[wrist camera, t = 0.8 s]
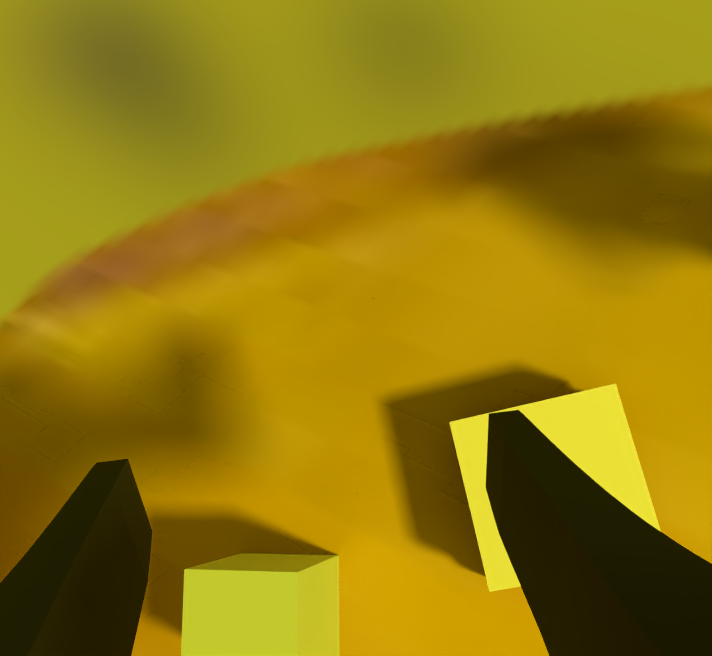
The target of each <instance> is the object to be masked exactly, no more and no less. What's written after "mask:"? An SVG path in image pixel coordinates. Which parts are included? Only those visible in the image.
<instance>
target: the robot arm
mask: <svg viewBox="0 0 712 656" xmlns="http://www.w3.org/2000/svg"><path fill="white" fill-rule="evenodd" d="M486 491H487V494H488V498H489V501H490V505H491V509H492V512H493V516H494V519H495V522H496V526H497V529H498V532H499V535H500V537H501V540H502V542H503V545H504V547H505V550H506V552H507V554H508V557H509V559H510V561H511V564H512V566H513V569H514V571H515V573H516V576H517V578H518V580H519V583H520V585H521V587H522V590H523V592H524V594H525V597H526V599H527V601H528V604H529V606H530V609H531V611H532V613H533V616H534V618H535V620H536V623H537V625H538V627H539V630H540V632H541V635H542V637H543V640H544V643H545V645H546V648H547V651H548V653H549V656H712V564H711V563H709V562H708V561H706V560H704V559H703V558H701V557H699V556H697V555H696V554H694V553H693V552H691V551H689V550H688V549H686V548H685V547H683V546H681V545H680V544H678V543H677V542H675V541H674V540H672V539H671V538H669V537H668V536H666V535H665V534H663V533H662V532H660V531H659V530H658V529H656V528H655V527H653V526H652V525H650V524H649V523H647V522H646V521H644V520H643V519H642V518H640V517H639V516H638V515H636V514H635V513H634V512H632V511H631V510H630V509H629V508H627V507H626V506H625V505H623V504H622V503H621V502H620V501H618V500H617V499H616V498H615V497H613V496H612V495H611V494H610V493H608V492H607V491H606V490H605V489H604V488H602V487H601V486H600V485H599V484H598V483H597V482H595V481H594V480H593V479H592V478H591V477H590V476H589V475H587V474H586V473H585V472H584V471H583V470H582V469H581V468H579V467H578V466H577V465H576V464H575V463H574V462H573V461H572V460H571V459H569V458H568V457H567V456H566V455H565V454H564V453H563V452H562V451H561V450H560V449H559V448H558V447H557V446H556V445H555V444H554V443H552V442H551V441H550V440H549V439H548V438H547V437H546V436H545V435H544V434H543V433H542V432H541V431H540V430H539V429H538V428H537V427H536V426H535V425H534V424H533V423H532V422H531V421H530V420H529V419H528V418H527V417H526V416H525V415H524V414H523V413H522V412H520V411H519V410H513V411H505V412H497V413H489V418H488V442H487V465H486ZM151 539H152V529H151V526H150V523H149V520H148V517H147V514H146V511H145V508H144V505H143V502H142V500H141V497H140V494H139V491H138V488H137V485H136V482H135V479H134V476H133V473H132V470H131V467H130V464H129V461H128V459H123V460H115V461H107V462H99V463H96V464H95V465H94V466H93V468H92V469H91V470H90V471H89V473H88V474H87V475H86V477H85V478H84V479H83V481H82V482H81V483H80V485H79V486H78V487H77V489H76V490H75V491H74V493H73V494H72V495H71V497H70V498H69V499H68V501H67V502H66V503H65V505H64V506H63V507H62V508H61V510H60V511H59V512H58V514H57V515H56V516H55V518H54V519H53V520H52V522H51V523H50V524H49V525H48V527H47V528H46V529H45V530H44V532H43V533H42V534H41V535H40V537H39V538H38V539H37V540H36V542H35V543H34V544H33V545H32V547H31V548H30V549H29V550H28V552H27V553H26V554H25V555H24V557H23V558H22V559H21V560H20V561H19V562H18V564H17V565H16V566H15V567H14V568H13V569H12V570H11V572H10V573H9V574H8V575H7V576H6V577H5V579H4V580H3V581H2V582H1V583H0V656H131V653H132V649H133V645H134V640H135V636H136V631H137V627H138V623H139V618H140V613H141V609H142V604H143V600H144V595H145V591H146V586H147V581H148V572H149V562H150V551H151Z"/></svg>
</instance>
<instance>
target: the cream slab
mask: <svg viewBox="0 0 712 656" xmlns="http://www.w3.org/2000/svg"><path fill="white" fill-rule="evenodd" d="M513 410H519V411H520V412H522V413H523V414H524V415H525V416H526V417H527V418H528V419H529V420H530V421H531V422H532V423H533V424H534V425H535V426H536V427H537V428H538V429H539V430H540V431H541V432H542V433H543V434H544V435H545V436H546V437H547V438H548V439H549V440H550V441H551V442H552V443H554V444H555V445H556V446H557V447H558V448H559V449H560V450H561V451H562V452H563V453H564V454H565V455H566V456H567V457H568V458H569V459H571V460H572V461H573V462H574V463H575V464H576V465H577V466H578V467H579V468H581V469H582V470H583V471H584V472H585V473H586V474H587V475H589V476H590V477H591V478H592V479H593V480H594V481H595V482H597V483H598V484H599V485H600V486H601V487H602V488H604V489H605V490H606V491H607V492H608V493H610V494H611V495H612V496H613V497H615V498H616V499H617V500H618V501H620V502H621V503H622V504H623V505H625V506H626V507H627V508H629V509H630V510H631V511H632V512H634V513H635V514H636V515H638V516H639V517H640V518H642V519H643V520H644V521H646V522H647V523H649V524H650V525H652V526H653V527H655V528H656V529H658V530H659V531H660V532H661V530H660V527H659V524H658V520H657V517H656V514H655V511H654V507H653V504H652V501H651V498H650V494H649V491H648V488H647V484H646V481H645V478H644V475H643V471H642V468H641V465H640V462H639V458H638V455H637V452H636V449H635V445H634V442H633V439H632V435H631V432H630V429H629V426H628V422H627V419H626V416H625V413H624V409H623V406H622V403H621V399H620V396H619V393H618V390H617V386H616V384H612V385H608V386H603V387H599V388H595V389H590V390H586V391H582V392H577V393H573V394H569V395H564V396H560V397H556V398H551V399H547V400H543V401H538V402H534V403H530V404H525V405H521V406H517V407H512V408H508V409H504V410H499V411H495V412H491V413H497V412H505V411H513ZM488 418H489V413H486V414H482V415H478V416H473V417H469V418H465V419H460V420H456V421H452V422H449V423H450V427H451V431H452V436H453V440H454V444H455V448H456V453H457V457H458V461H459V465H460V469H461V474H462V478H463V482H464V486H465V491H466V495H467V499H468V503H469V507H470V512H471V516H472V520H473V524H474V529H475V533H476V537H477V541H478V545H479V550H480V554H481V558H482V562H483V567H484V571H485V575H486V579H487V583H488V588H489V592H491V591H496V590H502V589H508V588H514V587H520V586H521V585H520V583H519V580H518V578H517V576H516V573H515V571H514V569H513V566H512V564H511V561H510V559H509V557H508V554H507V552H506V550H505V547H504V545H503V542H502V540H501V537H500V535H499V532H498V529H497V526H496V522H495V519H494V516H493V512H492V509H491V505H490V501H489V498H488V494H487V491H486V465H487V442H488Z"/></svg>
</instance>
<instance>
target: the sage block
mask: <svg viewBox="0 0 712 656" xmlns="http://www.w3.org/2000/svg"><path fill="white" fill-rule="evenodd" d="M181 656H339V555H308V554H262V553H240V554H236V555H233V556H229V557H226V558H222V559H219V560H215V561H211V562H208V563H204V564H201V565H197V566H193V567H190V568H186V569H184V591H183V617H182V644H181Z"/></svg>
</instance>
